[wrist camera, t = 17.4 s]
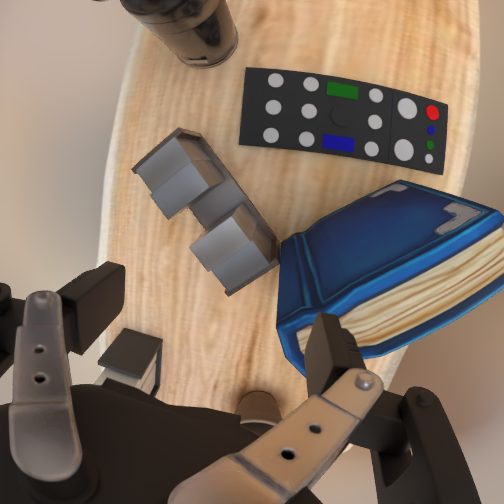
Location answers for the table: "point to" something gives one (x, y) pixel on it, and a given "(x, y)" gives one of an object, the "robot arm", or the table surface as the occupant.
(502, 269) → the book
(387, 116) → the remote control
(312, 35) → the table surface
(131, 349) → the dark book holder
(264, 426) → the flower pot
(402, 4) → the table surface
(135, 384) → the white book
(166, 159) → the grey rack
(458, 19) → the table surface
